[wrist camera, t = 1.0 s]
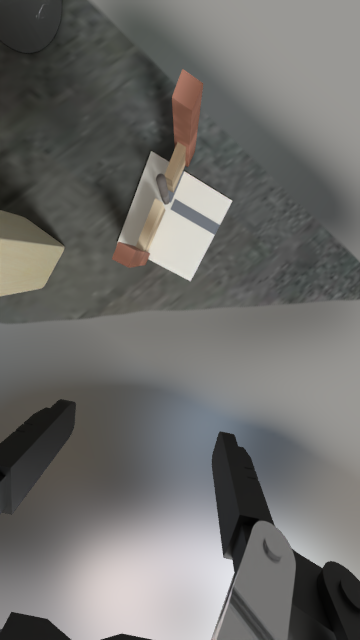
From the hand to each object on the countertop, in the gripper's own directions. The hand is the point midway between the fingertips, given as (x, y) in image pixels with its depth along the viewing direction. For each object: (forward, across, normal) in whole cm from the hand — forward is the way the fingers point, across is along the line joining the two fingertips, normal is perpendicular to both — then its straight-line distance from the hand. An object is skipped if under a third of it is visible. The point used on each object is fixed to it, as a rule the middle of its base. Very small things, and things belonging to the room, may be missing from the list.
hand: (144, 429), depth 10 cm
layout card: (+20, +3, -15) cm, 25 cm away
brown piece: (+19, +3, -21) cm, 29 cm away
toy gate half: (+19, +6, -13) cm, 24 cm away
